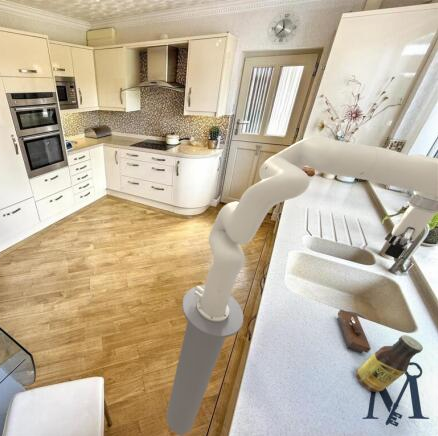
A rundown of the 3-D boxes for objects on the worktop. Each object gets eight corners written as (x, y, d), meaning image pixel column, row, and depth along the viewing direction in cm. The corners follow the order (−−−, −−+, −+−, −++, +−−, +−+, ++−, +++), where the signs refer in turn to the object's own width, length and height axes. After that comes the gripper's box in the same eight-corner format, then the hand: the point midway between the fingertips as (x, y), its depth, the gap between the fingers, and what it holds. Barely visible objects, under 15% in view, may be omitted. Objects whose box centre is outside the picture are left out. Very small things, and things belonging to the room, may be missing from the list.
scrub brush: (334, 317, 88) (342, 306, 85) (350, 322, 87) (359, 311, 83) (345, 350, 77) (355, 339, 74) (363, 356, 75) (374, 345, 72)
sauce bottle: (359, 388, 67) (401, 348, 57) (350, 367, 72) (388, 327, 62) (386, 398, 65) (435, 358, 55) (376, 375, 70) (418, 335, 60)
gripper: (412, 191, 74) (381, 236, 83) (407, 205, 64) (373, 254, 72) (446, 200, 69) (410, 246, 78) (447, 216, 59) (406, 267, 68)
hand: (392, 250), depth 75 cm, fingers open, 9 cm apart
